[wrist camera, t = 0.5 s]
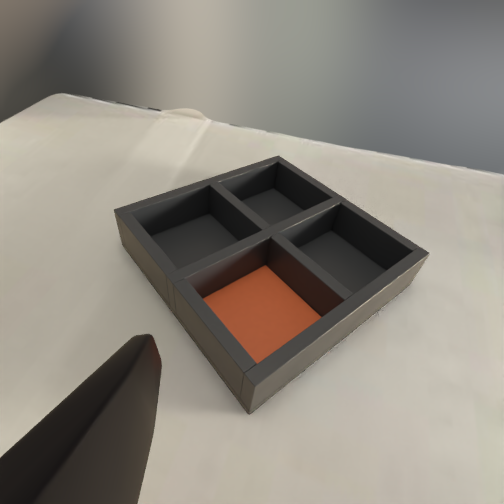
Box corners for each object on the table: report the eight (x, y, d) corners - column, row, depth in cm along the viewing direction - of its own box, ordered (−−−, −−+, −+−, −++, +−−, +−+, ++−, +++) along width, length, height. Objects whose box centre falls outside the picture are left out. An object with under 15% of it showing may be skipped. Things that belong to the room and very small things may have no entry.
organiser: (409, 285, 31) (430, 253, 28) (248, 415, 21) (255, 387, 18) (273, 186, 41) (278, 155, 38) (122, 244, 31) (113, 209, 28)
